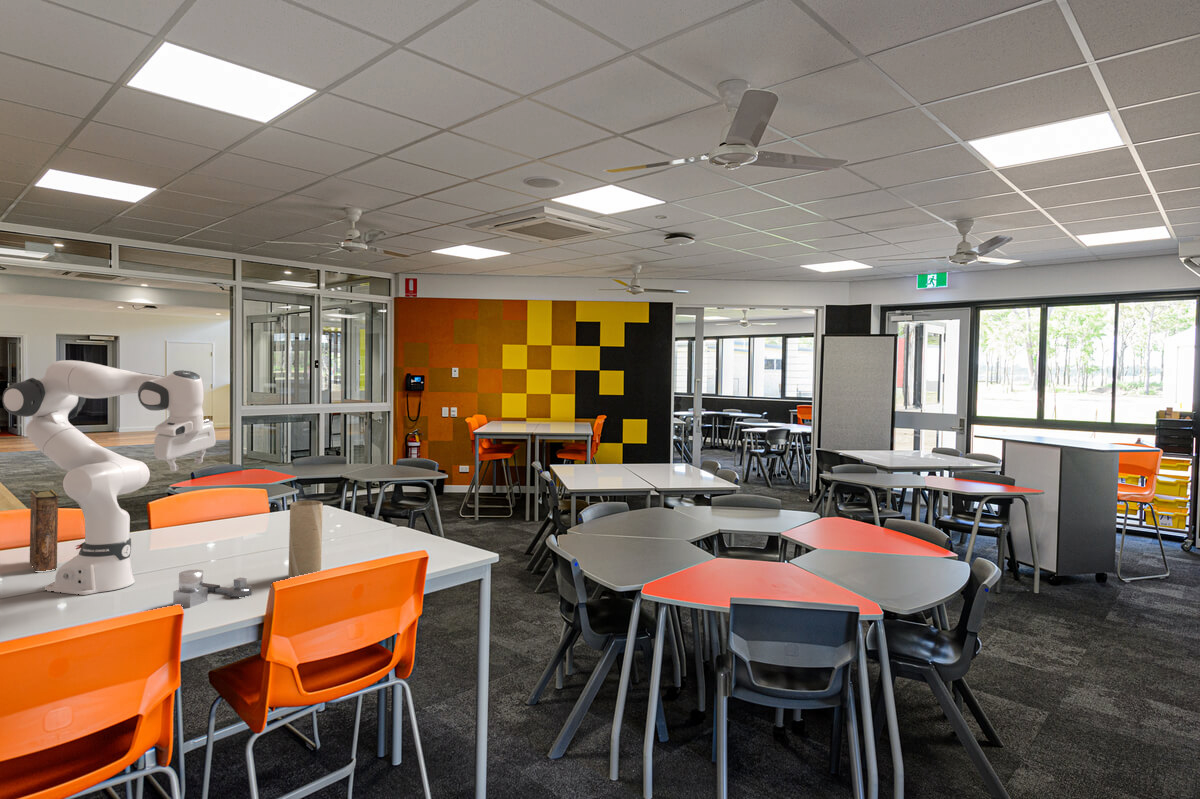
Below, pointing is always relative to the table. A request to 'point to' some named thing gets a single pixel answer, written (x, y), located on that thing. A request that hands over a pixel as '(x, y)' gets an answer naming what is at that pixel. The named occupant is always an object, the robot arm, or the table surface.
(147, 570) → the table surface
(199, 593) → the grey block with cylinder
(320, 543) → the tube
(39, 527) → the book
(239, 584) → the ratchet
